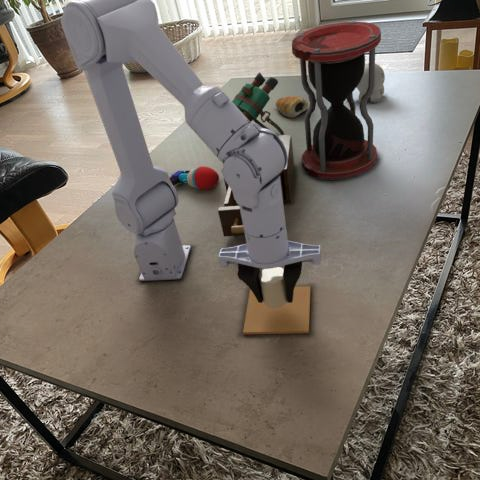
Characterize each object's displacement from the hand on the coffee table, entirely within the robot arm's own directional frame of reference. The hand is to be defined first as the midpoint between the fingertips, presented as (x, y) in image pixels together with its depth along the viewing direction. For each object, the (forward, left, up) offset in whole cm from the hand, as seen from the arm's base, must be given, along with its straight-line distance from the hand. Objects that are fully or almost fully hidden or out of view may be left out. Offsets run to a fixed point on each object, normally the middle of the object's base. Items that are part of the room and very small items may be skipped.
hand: (276, 298), depth 75 cm
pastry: (+75, +2, -3) cm, 75 cm away
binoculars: (+58, +10, -3) cm, 59 cm away
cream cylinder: (0, 0, 0) cm, 0 cm away
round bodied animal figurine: (+78, -16, -3) cm, 80 cm away
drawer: (+24, +6, -2) cm, 25 cm away
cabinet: (+38, +6, -3) cm, 39 cm away
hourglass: (+46, -10, -3) cm, 47 cm away
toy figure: (+41, +22, -3) cm, 47 cm away
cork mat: (0, 0, -3) cm, 3 cm away
